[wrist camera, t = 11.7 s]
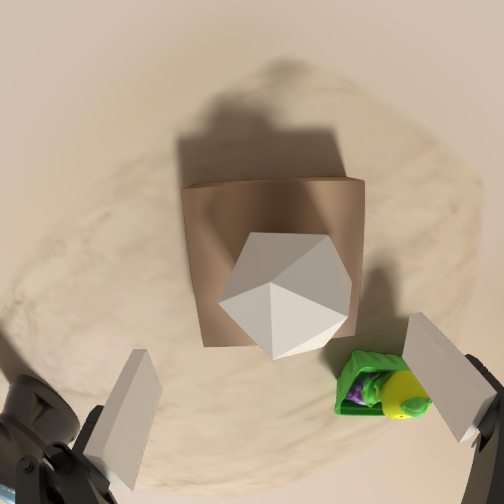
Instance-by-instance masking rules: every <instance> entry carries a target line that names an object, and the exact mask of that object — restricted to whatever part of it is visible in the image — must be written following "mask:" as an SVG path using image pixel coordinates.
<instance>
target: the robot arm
mask: <svg viewBox="0 0 504 504" xmlns="http://www.w3.org/2000/svg"><path fill="white" fill-rule="evenodd" d="M402 358H403V359H404V361H405V362H406V364H407V365H408V366H409V368H410V369H411V371H412V372H413V374H414V375H415V377H416V378H417V379H418V381H419V382H420V384H421V385H422V387H423V388H424V390H425V391H426V393H427V394H428V396H429V397H430V399H431V400H432V402H433V403H434V405H435V406H436V408H437V409H438V411H439V413H440V414H441V415H442V417H443V419H444V420H445V422H446V423H447V425H448V427H449V428H450V430H451V431H452V433H453V435H454V436H455V438H456V439H457V441H458V443H460V442H462V441H464V440H466V439H468V438H470V437H472V435H473V434H474V432H475V431H476V429H477V428H478V429H479V431H480V433H479V435H478V436H477V438H476V439H475V441H474V442H473V444H472V446H471V447H474V445H475V444H476V443H477V444H476V449H475V454H474V459H473V464H472V468H471V472H470V476H469V479H468V483H467V487H466V490H465V493H464V496H463V499H462V503H461V504H504V387H503V386H502V385H501V384H500V382H499V381H498V380H497V379H496V378H495V377H494V376H493V375H492V374H491V373H490V372H488V369H487V368H486V367H484V366H483V364H482V363H481V362H480V361H479V360H478V359H477V358H475V357H474V356H472V355H470V354H467V355H465V356H464V355H463V354H462V353H461V352H460V351H459V350H458V349H457V348H456V346H455V345H454V344H453V343H452V342H451V341H450V340H449V339H448V338H447V337H446V336H445V335H444V334H443V333H442V332H441V331H440V330H439V329H438V328H437V327H436V326H435V325H434V324H433V323H432V322H431V321H430V320H429V319H428V318H427V317H426V316H425V315H424V314H423V313H422V312H420V313H416V314H412V315H410V316H409V322H408V328H407V334H406V340H405V345H404V350H403V355H402ZM161 392H162V387H161V384H160V382H159V380H158V377H157V375H156V372H155V369H154V367H153V364H152V362H151V359H150V356H149V354H148V351H147V349H133V351H132V353H131V355H130V357H129V358H128V360H127V362H126V364H125V366H124V368H123V370H122V372H121V374H120V376H119V378H118V380H117V382H116V384H115V386H114V388H113V390H112V392H111V394H110V396H109V398H108V400H107V402H106V404H105V406H101V405H97V406H96V407H95V408H94V409H93V410H92V411H91V412H90V413H89V415H88V417H87V419H86V423H84V425H83V427H82V428H83V429H81V431H80V433H79V435H78V437H77V439H76V441H75V444H74V446H73V448H72V450H71V449H70V448H69V447H68V446H67V445H68V444H69V443H70V442H72V441H73V440H74V439H75V438H76V436H77V434H78V432H79V430H80V424H79V421H78V419H77V417H76V416H75V414H74V413H73V411H72V410H71V409H70V407H69V406H68V405H67V404H66V403H65V402H64V401H63V400H62V399H61V398H60V397H59V396H58V395H57V394H55V393H54V392H53V391H52V390H51V389H49V388H48V387H47V386H45V385H44V384H42V383H41V382H39V381H37V380H35V379H33V378H31V377H28V376H24V375H20V376H17V377H16V378H15V380H14V381H13V382H12V383H11V385H10V387H9V392H8V394H7V398H6V401H5V404H4V408H3V411H2V413H1V414H0V499H2V500H3V501H5V502H7V503H8V504H117V502H116V500H115V498H114V497H113V495H112V493H111V491H110V490H109V489H108V488H109V485H110V483H111V484H112V485H113V486H114V487H115V488H116V489H120V490H125V491H130V492H133V489H134V486H135V482H136V478H137V474H138V471H139V467H140V463H141V460H142V456H143V452H144V449H145V445H146V442H147V438H148V435H149V432H150V428H151V425H152V421H153V418H154V415H155V412H156V408H157V405H158V402H159V399H160V395H161Z"/></svg>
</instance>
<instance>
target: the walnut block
mask: <svg viewBox="0 0 504 504" xmlns="http://www.w3.org/2000/svg"><path fill="white" fill-rule="evenodd" d="M181 191H182V201H183V211H184V219H185V228H186V236H187V244H188V252H189V259H190V266H191V273H192V280H193V287H194V293H195V300H196V306H197V312H198V318H199V324H200V329H201V335H202V340H203V346H204V347H229V346H251V345H258V344H257V343H256V342H255V341H254V340H253V339H252V338H251V337H250V336H249V335H248V334H247V333H246V332H245V331H244V330H243V329H242V328H241V327H240V326H239V325H238V324H237V323H236V322H235V321H234V320H233V319H232V318H231V317H230V316H229V314H228V313H227V312H226V311H225V310H224V309H223V308H222V307H221V306H220V305H219V304H218V302H219V300H220V297H221V295H222V293H223V291H224V289H225V286H226V284H227V282H228V280H229V278H230V276H231V273H232V271H233V269H234V267H235V265H236V263H237V260H238V258H239V256H240V254H241V252H242V250H243V247H244V245H245V243H246V241H247V239H248V237H249V234H250V232H255V233H290V234H319V235H329V237H330V239H331V241H332V243H333V245H334V247H335V249H336V251H337V253H338V255H339V257H340V259H341V261H342V263H343V265H344V267H345V269H346V271H347V273H348V275H349V277H350V279H351V281H352V287H351V296H350V305H349V313H348V318H347V319H346V320H345V321H344V323H343V324H342V325H341V326H340V328H339V329H338V330H337V331H336V332H335V334H334V335H333V336H332V337H331V339H332V338H340V337H347V336H355V331H356V323H357V315H358V306H359V297H360V287H361V275H362V261H363V244H364V218H365V181H364V180H359V179H355V178H350V177H303V178H277V179H258V180H242V181H228V182H216V183H205V184H194V185H191V186H188V187H186V188H184V189H182V190H181Z"/></svg>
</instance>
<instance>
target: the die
mask: <svg viewBox="0 0 504 504" xmlns="http://www.w3.org/2000/svg"><path fill="white" fill-rule="evenodd" d="M351 287H352V281H351V279H350V277H349V275H348V273H347V271H346V269H345V267H344V265H343V263H342V261H341V259H340V257H339V255H338V253H337V251H336V249H335V247H334V245H333V243H332V241H331V239H330V237H329V235H319V234H290V233H255V232H250V234H249V237H248V239H247V241H246V243H245V245H244V247H243V250H242V252H241V254H240V256H239V258H238V260H237V263H236V265H235V267H234V269H233V271H232V273H231V276H230V278H229V280H228V282H227V284H226V286H225V289H224V291H223V293H222V295H221V297H220V300H219V302H218V304H219V305H220V306H221V307H222V308H223V309H224V310H225V311H226V312H227V313H228V314H229V316H230V317H231V318H232V319H233V320H234V321H235V322H236V323H237V324H238V325H239V326H240V327H241V328H242V329H243V330H244V331H245V332H246V333H247V334H248V335H249V336H250V337H251V338H252V339H253V340H254V341H255V342H256V343H257V344H258V345H259V346H260V347H261V348H262V349H263V350H264V351H265V352H266V353H267V354H268V355H269V356H270V357H271V358H272V359H277V358H281V357H285V356H290V355H294V354H298V353H302V352H306V351H310V350H313V349H317V348H321V347H324V346H325V345H326V343H327V342H328V341H329V340H330V339H331V337H332V336H333V335H334V334H335V332H336V331H337V330H338V329H339V328H340V326H341V325H342V324H343V323H344V321H345V320H346V319H347V318H348V313H349V305H350V296H351Z"/></svg>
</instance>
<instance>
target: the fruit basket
mask: <svg viewBox="0 0 504 504" xmlns="http://www.w3.org/2000/svg"><path fill="white" fill-rule="evenodd" d="M431 403H432V400H431V399H430V397H429V396H428V394H427V393H426V391H425V390H424V388H423V387H422V385H421V384H420V382H419V381H418V379H417V378H416V377H415V375H414V374H413V372H412V371H411V369H410V368H409V366H408V365H407V364H406V362H405V361H404V359H403V358H402V356H397V355H392V354H384V355H383V354H381V353H376V352H368V353H367V352H365V351H361V350H353V352H352V354H351V358H350V359H349V360H348V361H347V363H346V365H345V367H344V369H343V370H342V373H341V376H340V377H339V378H338V379H337V396H336V404H335V410H334V413H335V414H337V415H347V416H387V417H389V418H391V419H406V418H409V417H418V416H421V415H423V414H424V413H425V412H426V411H427V410H428V409H429V407H430V405H431Z"/></svg>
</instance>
